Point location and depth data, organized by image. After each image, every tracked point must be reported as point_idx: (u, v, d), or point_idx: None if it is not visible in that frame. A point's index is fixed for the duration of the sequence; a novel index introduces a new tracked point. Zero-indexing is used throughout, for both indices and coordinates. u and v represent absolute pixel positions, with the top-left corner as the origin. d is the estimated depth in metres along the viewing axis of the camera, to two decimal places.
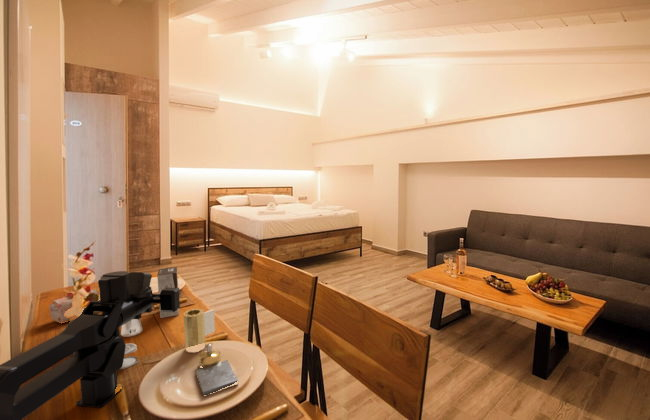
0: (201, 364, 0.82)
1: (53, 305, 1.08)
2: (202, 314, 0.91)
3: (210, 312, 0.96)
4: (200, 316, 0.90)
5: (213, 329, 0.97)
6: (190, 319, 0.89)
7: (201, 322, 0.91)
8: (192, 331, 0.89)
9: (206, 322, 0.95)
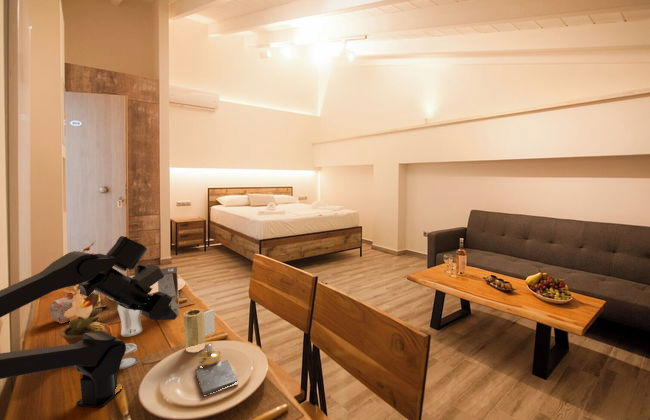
0: (201, 364, 0.82)
1: (53, 305, 1.08)
2: (202, 314, 0.91)
3: (210, 312, 0.96)
4: (200, 316, 0.90)
5: (213, 329, 0.97)
6: (190, 319, 0.89)
7: (201, 322, 0.91)
8: (192, 331, 0.89)
9: (206, 322, 0.95)
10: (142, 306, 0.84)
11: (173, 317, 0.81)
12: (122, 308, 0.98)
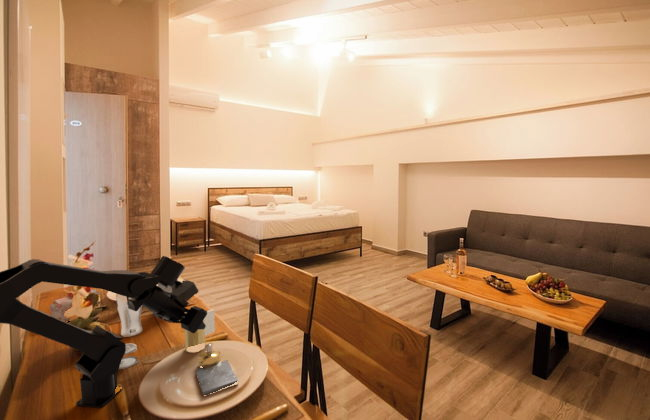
0: (201, 364, 0.82)
1: (54, 305, 1.08)
2: None
3: (210, 312, 0.96)
4: None
5: (213, 329, 0.97)
6: None
7: None
8: None
9: (206, 322, 0.95)
10: (180, 319, 0.91)
11: (202, 327, 0.90)
12: (122, 308, 0.98)
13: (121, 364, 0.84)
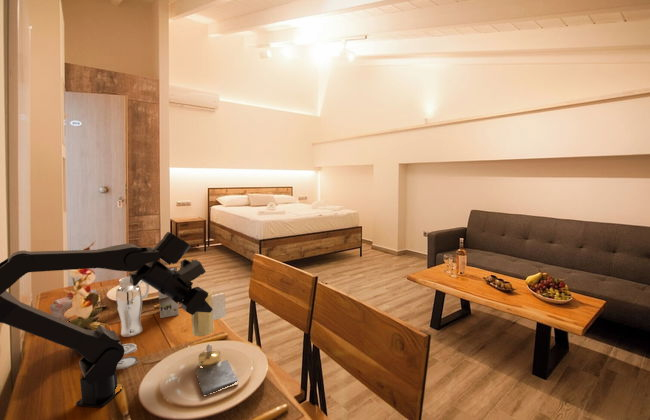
0: (201, 364, 0.82)
1: (54, 305, 1.08)
2: (209, 296, 0.86)
3: (220, 296, 0.91)
4: (206, 298, 0.85)
5: (223, 314, 0.92)
6: None
7: None
8: (198, 313, 0.85)
9: (215, 306, 0.90)
10: None
11: (208, 310, 0.85)
12: (122, 308, 0.98)
13: (121, 364, 0.84)
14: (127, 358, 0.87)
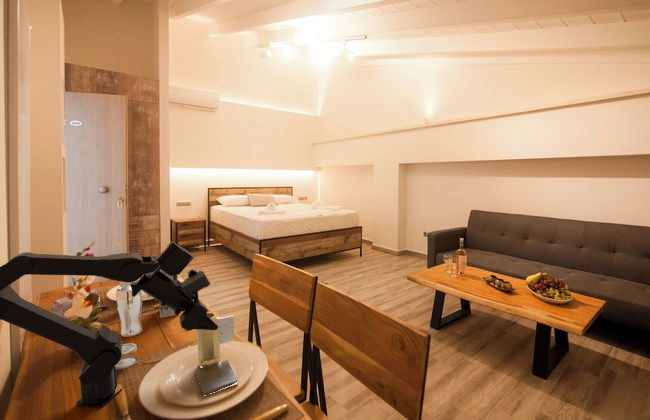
0: (201, 364, 0.82)
1: (54, 305, 1.08)
2: (214, 320, 0.82)
3: (228, 318, 0.86)
4: None
5: (232, 337, 0.87)
6: None
7: None
8: (201, 336, 0.81)
9: (223, 329, 0.85)
10: None
11: (213, 328, 0.79)
12: (122, 308, 0.98)
13: (121, 364, 0.84)
14: (127, 358, 0.87)
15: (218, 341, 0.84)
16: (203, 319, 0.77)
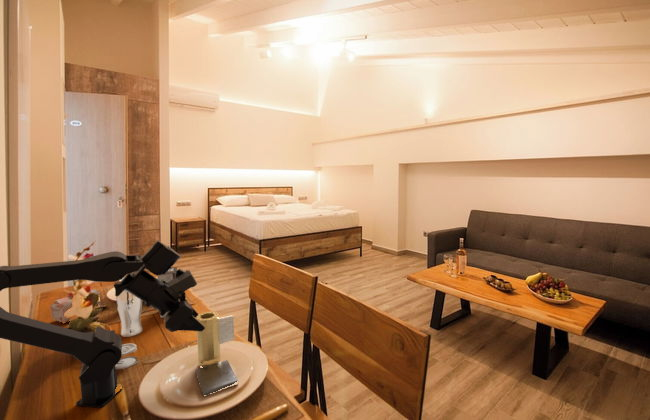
0: (201, 364, 0.82)
1: (55, 305, 1.08)
2: (214, 320, 0.82)
3: (228, 318, 0.86)
4: (210, 322, 0.81)
5: (232, 337, 0.87)
6: None
7: (212, 328, 0.81)
8: (201, 336, 0.81)
9: (223, 329, 0.85)
10: None
11: (199, 329, 0.78)
12: (122, 308, 0.98)
13: (121, 364, 0.84)
14: (127, 358, 0.87)
15: (218, 341, 0.84)
16: (189, 320, 0.75)
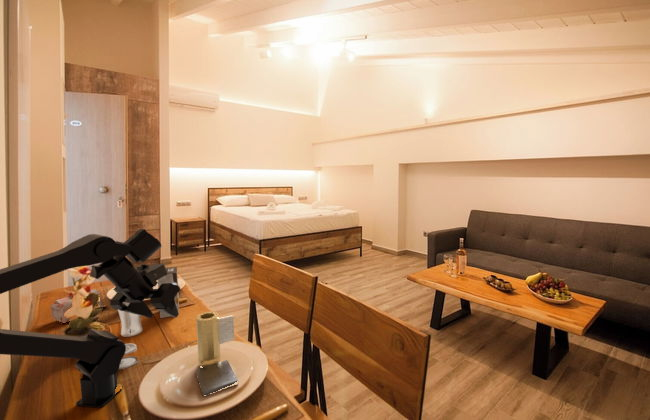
0: (201, 364, 0.82)
1: (55, 305, 1.08)
2: (214, 320, 0.82)
3: (228, 318, 0.86)
4: (210, 322, 0.81)
5: (232, 337, 0.87)
6: (200, 323, 0.81)
7: (212, 328, 0.81)
8: (201, 336, 0.81)
9: (223, 329, 0.85)
10: (139, 310, 0.82)
11: (175, 314, 0.81)
12: None
13: (121, 364, 0.84)
14: (127, 358, 0.87)
15: (218, 341, 0.84)
16: (169, 302, 0.79)
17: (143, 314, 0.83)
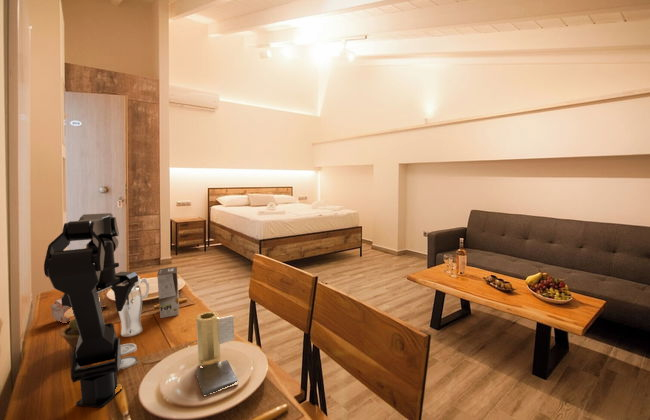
0: (201, 364, 0.82)
1: (55, 305, 1.08)
2: (214, 320, 0.82)
3: (228, 318, 0.86)
4: (210, 322, 0.81)
5: (232, 337, 0.87)
6: (200, 323, 0.81)
7: (212, 328, 0.81)
8: (201, 336, 0.81)
9: (223, 329, 0.85)
10: None
11: None
12: None
13: (121, 364, 0.84)
14: (127, 358, 0.87)
15: (218, 341, 0.84)
16: None
17: None
